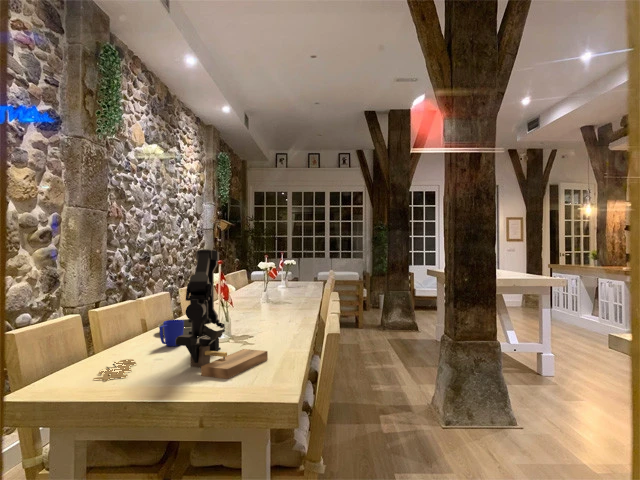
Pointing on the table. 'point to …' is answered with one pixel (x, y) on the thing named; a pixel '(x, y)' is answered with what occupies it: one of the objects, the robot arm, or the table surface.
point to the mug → (171, 331)
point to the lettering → (114, 374)
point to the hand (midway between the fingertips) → (200, 361)
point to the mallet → (206, 356)
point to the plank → (234, 363)
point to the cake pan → (186, 325)
